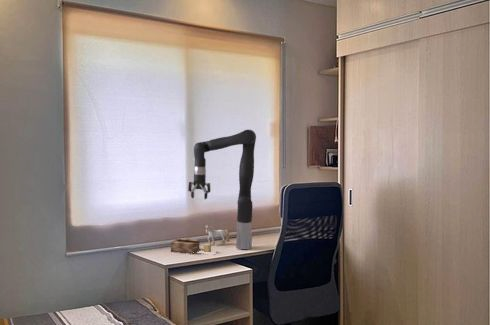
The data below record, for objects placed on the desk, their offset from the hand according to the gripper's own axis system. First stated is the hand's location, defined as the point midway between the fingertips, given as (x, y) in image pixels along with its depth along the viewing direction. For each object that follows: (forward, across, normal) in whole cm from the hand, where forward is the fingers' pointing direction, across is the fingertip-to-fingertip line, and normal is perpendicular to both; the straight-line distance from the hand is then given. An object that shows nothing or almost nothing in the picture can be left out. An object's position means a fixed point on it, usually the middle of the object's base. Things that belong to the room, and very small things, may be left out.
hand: (199, 198), depth 319 cm
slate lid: (+31, -12, +16) cm, 37 cm away
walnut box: (+30, +2, +16) cm, 34 cm away
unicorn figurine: (+30, -12, -1) cm, 33 cm away
